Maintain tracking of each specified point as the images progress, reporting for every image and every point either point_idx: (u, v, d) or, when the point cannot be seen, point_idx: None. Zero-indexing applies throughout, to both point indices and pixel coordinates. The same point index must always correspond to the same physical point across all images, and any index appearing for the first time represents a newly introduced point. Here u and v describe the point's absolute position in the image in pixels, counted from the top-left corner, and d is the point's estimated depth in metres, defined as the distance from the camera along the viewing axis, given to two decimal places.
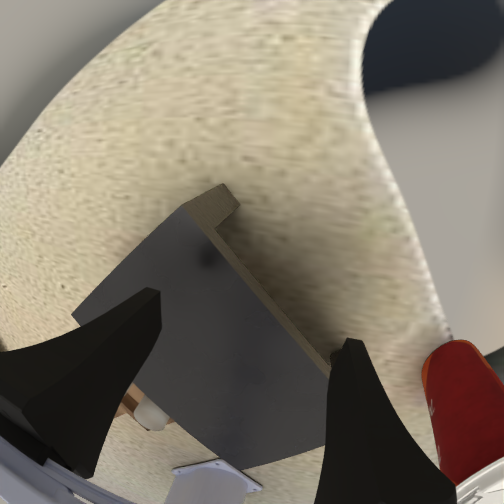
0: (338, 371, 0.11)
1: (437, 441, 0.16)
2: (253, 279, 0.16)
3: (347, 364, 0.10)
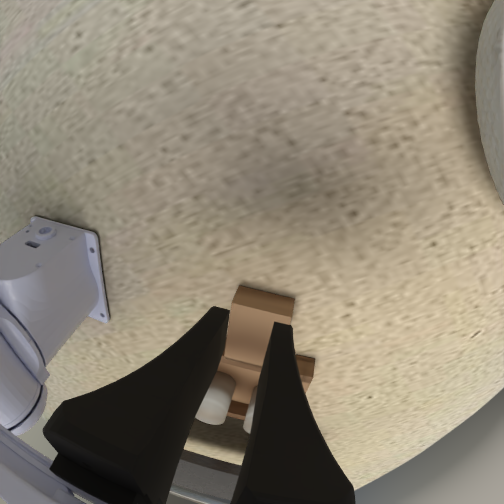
0: (265, 355, 0.11)
1: None
2: None
3: (268, 347, 0.10)
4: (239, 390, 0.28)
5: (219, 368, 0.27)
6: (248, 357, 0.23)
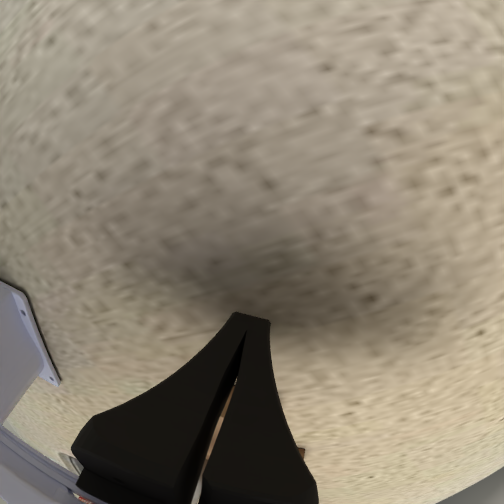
0: (243, 350, 0.11)
1: None
2: None
3: (244, 341, 0.10)
4: None
5: None
6: None
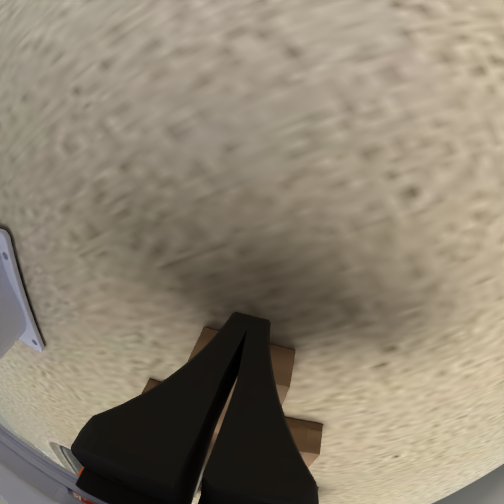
0: (243, 350, 0.11)
1: None
2: None
3: (244, 341, 0.10)
4: None
5: None
6: None
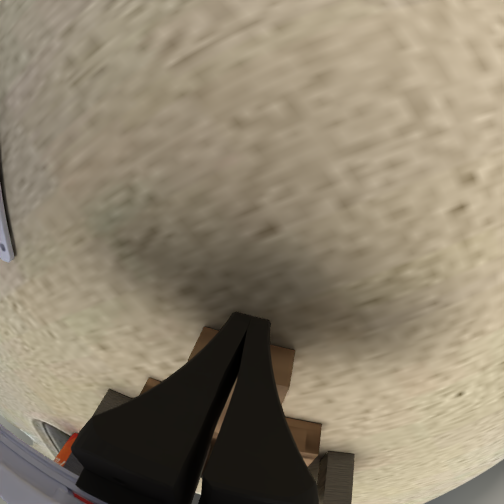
0: (243, 350, 0.11)
1: None
2: None
3: (244, 341, 0.10)
4: None
5: None
6: None
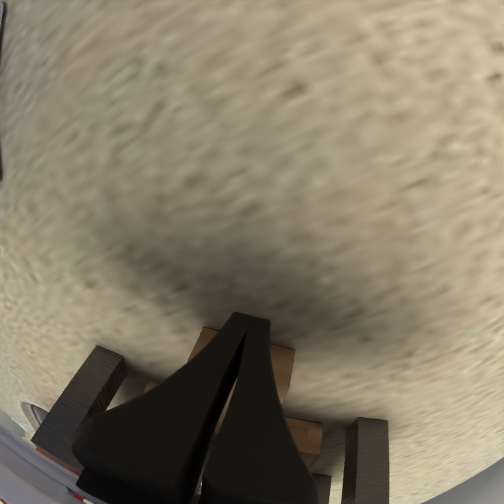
0: (243, 350, 0.11)
1: None
2: None
3: (244, 341, 0.10)
4: None
5: None
6: None
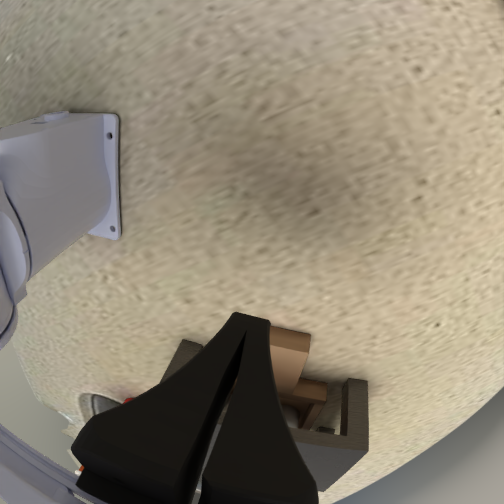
0: (243, 350, 0.11)
1: None
2: None
3: (244, 341, 0.10)
4: None
5: None
6: None
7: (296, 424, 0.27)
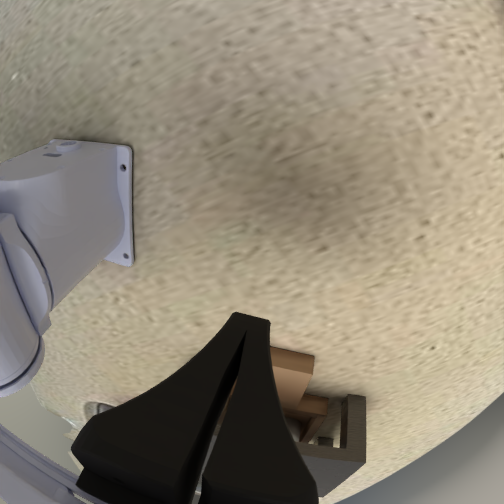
0: (243, 350, 0.11)
1: None
2: None
3: (244, 341, 0.10)
4: None
5: None
6: None
7: (298, 435, 0.28)
